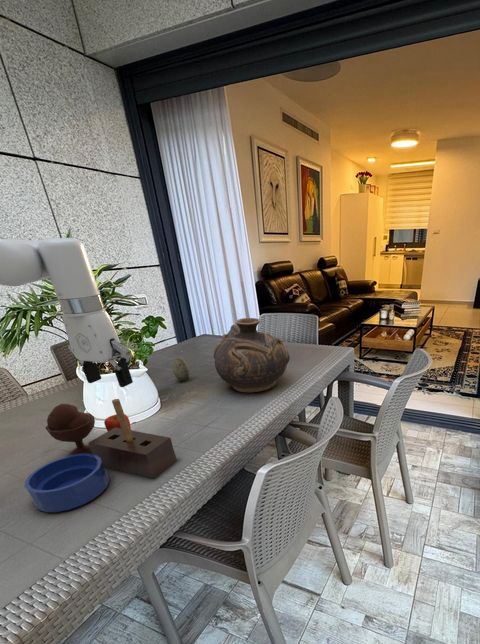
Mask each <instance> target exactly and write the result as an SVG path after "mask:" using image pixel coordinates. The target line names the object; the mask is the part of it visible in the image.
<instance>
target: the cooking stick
mask: <svg viewBox="0 0 480 644" xmlns="http://www.w3.org/2000/svg"><path fill="white" fill-rule="evenodd" d="M111 403H112V406H113V409H114V411H115V415H116V414H117V417H118V420H119V423H120V426H121V428H122V431H123V434H124V437H125V440H126V442H127V443H130V442H132V441H133V438H132V435H131V432H130V429H129V426H128V423H127V420H126V418H125V415H126V414H125V411H124V409H123V406H122V403H121V401H120V398H114V399H112V400H111ZM124 414H125V415H124Z"/></svg>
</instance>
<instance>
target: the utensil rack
mask: <svg viewBox="0 0 480 644" xmlns="http://www.w3.org/2000/svg"><path fill="white" fill-rule="evenodd" d="M130 432H131V435H132V438H133V441H132V442H130V443H127V442H126V440H125V437H124V434H123V431H122V429H121V428H116V427H115V428H113V429H111V430H110V431H106V432H104V433H103V434H101V435H99V436H96V438H94V439H92V440H90V441H88V446H90V448H91V450H92V453H91V454H94V455H97V456H98V457H100V458H101V460H102V463H103V465H104V468H106V469H107V468H108V469H112V470H116V471H120V472H124V473H129V474H133V475H136V476H140V477H145V478H149V479H155V478H157V477H158V476H159V475H161V474H162V473H163V472H164V471H166V470H167V469H169V467H171V466H172V465H173V464H174V463H175V462H177V456H176V453H175V449H174V445H173V441H172V439H171V436H170V437H169V436H164V435H158V434H153V433H148V432H143V431H136V430H130Z"/></svg>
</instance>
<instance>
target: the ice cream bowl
mask: <svg viewBox="0 0 480 644" xmlns="http://www.w3.org/2000/svg"><path fill="white" fill-rule="evenodd" d="M95 423H96V420H95V416H94V415H93V414H91V412H83V411H79V410H78V407H77V406H75V405H73V404H70V403H60V404H58V405H56V406H54V408H53V409H52V410H51V412H49V414H48V415H47V417H46V424H47V425H46V426H45V430H46V431H47V433H48V434H49V435H50V436H51V437H52V438H53V439H55V440H56V441H59V442H63V443H64V442H65V443H75V446H76V448H75V449H74V450H72V452H71V454H70V455H75V454H93V453H92V450H91V448H90V445H85V444H84V442H83V441H84V440H83V439H86V438H87V437H88V436H89V435H90V433H91V432H92V430H94V428H95V425H96V424H95Z"/></svg>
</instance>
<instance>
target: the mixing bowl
mask: <svg viewBox="0 0 480 644" xmlns="http://www.w3.org/2000/svg"><path fill="white" fill-rule="evenodd" d="M109 482H110V479H109V475H108V472H107V470H106V467H104V465H103V463H102V460H101V458H100V457H98V456H97V455H94V454H93V453H91V454H75V455H72V454H69V455H65V456H61V457H59V458H56V459H53V460H51V461H48V462H47V463H45V464H43V465H42V466H40V467H37V468H36V469H35V470H33V471H32V472H31V473H30V474H29V475H28V476H27V477H26V479H25V481H24V488H25V490H26V492H27V493H28V495H29V497H30V499H31V501H32V502H33V504H34V506H35V507H36V508H37V510H38V511H40V512H41V511H42V512H45V513H59V512H64V511H69V510H72V509H75V508H78V507H81V506H83V505H85V504H87V503H89V502H91V501H92V500H94V499H96V498H97V497H98V496H100V495H102V493H103V492H104V491H105V490H106V489H107V487H108V485H109Z"/></svg>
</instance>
